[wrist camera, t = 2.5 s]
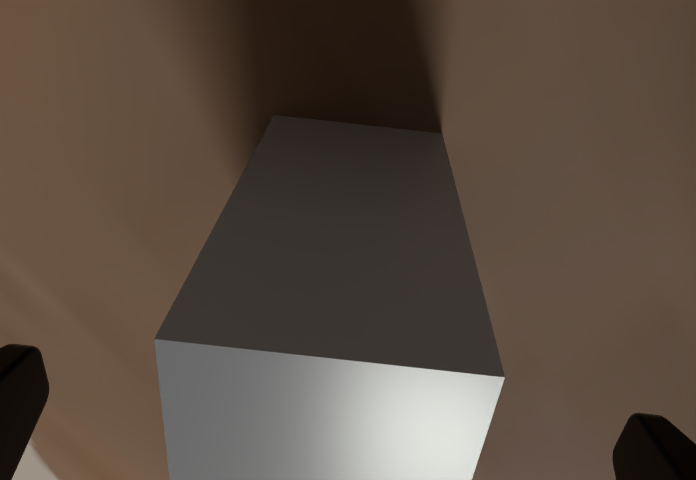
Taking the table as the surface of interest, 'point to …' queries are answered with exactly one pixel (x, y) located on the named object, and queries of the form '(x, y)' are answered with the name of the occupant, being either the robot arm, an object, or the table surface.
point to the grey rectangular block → (332, 318)
